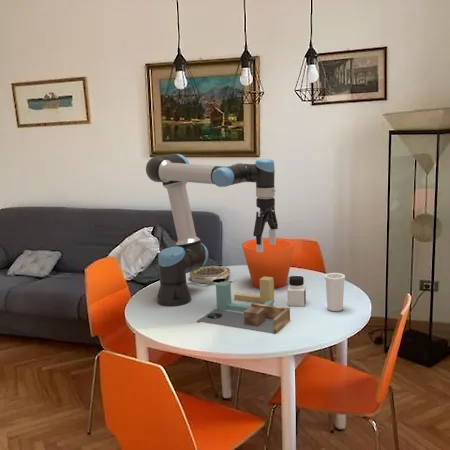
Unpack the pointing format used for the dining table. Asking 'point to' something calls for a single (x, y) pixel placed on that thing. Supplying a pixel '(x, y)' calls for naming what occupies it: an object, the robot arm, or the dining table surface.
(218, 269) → the pie
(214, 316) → the black round disc
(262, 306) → the wooden l-shaped bracket
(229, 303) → the crook
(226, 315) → the runner mat
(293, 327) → the dining table surface
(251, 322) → the walnut block
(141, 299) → the dining table surface
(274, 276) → the flowerpot
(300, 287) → the medicine bottle
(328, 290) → the cup
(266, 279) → the yellow l-shaped block
